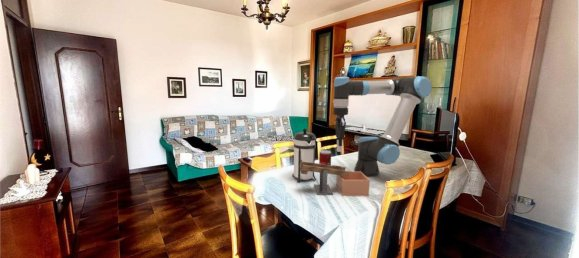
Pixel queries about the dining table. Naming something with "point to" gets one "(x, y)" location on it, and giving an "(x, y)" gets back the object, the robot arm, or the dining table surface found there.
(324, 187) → the chute stand
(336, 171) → the tipping chute
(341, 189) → the brown cardboard box
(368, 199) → the dining table surface
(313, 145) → the coffee press
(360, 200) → the dining table surface
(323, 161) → the canned food
